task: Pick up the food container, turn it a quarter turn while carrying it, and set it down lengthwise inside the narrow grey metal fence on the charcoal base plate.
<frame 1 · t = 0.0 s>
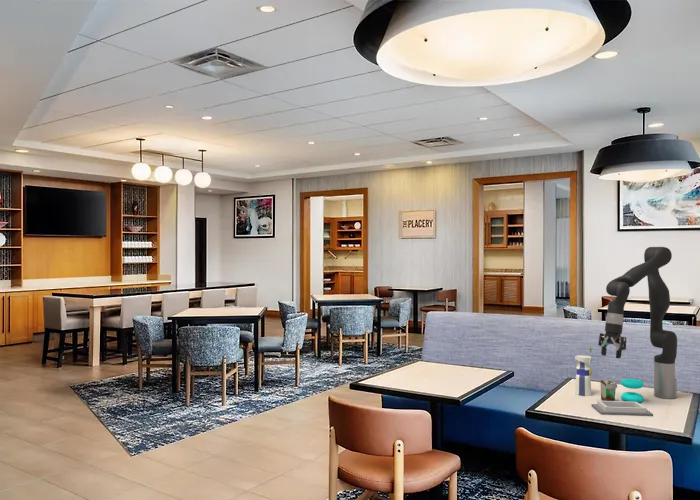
hand: (610, 356, 272), 22 cm above the table, tool pointing down, fingers open, 8 cm apart
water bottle: (583, 394, 290), on the table
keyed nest: (621, 411, 259), on the table
donuts: (632, 401, 278), on the table
food container: (610, 402, 274), on the table
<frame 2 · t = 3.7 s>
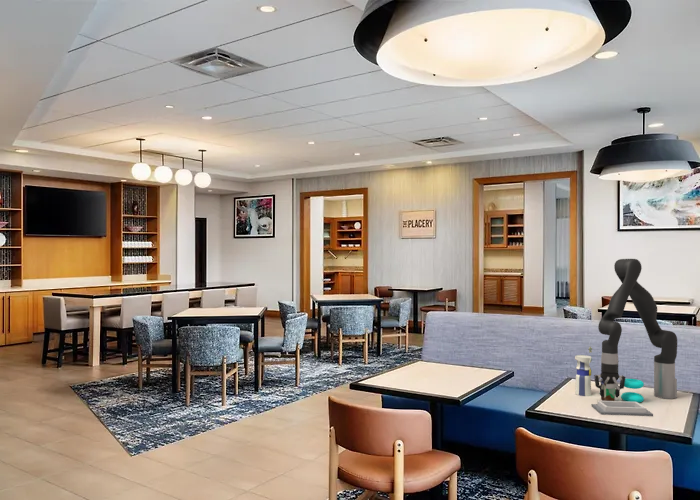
hand: (609, 396, 274), 3 cm above the table, tool pointing down, fingers open, 6 cm apart
food container: (610, 402, 274), on the table, touching gripper
everything else where it was.
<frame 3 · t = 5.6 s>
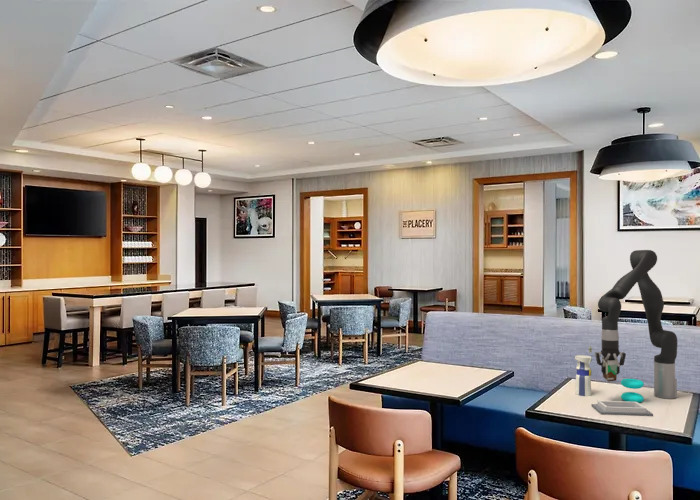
hand: (610, 373, 274), 14 cm above the table, tool pointing down, fingers closed on food container, 5 cm apart
food container: (612, 379, 274), point 11 cm above the table, touching gripper
everything else where it was.
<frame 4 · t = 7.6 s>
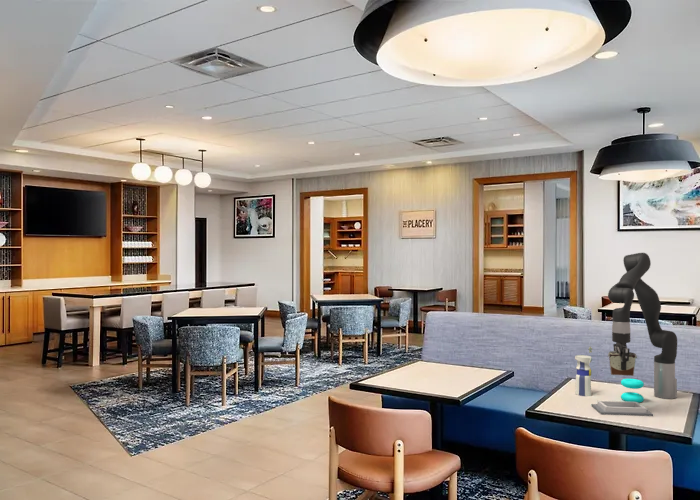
hand: (621, 368, 259), 19 cm above the table, tool pointing down, fingers closed on food container, 5 cm apart
food container: (620, 374, 260), point 16 cm above the table, touching gripper
everything else where it was.
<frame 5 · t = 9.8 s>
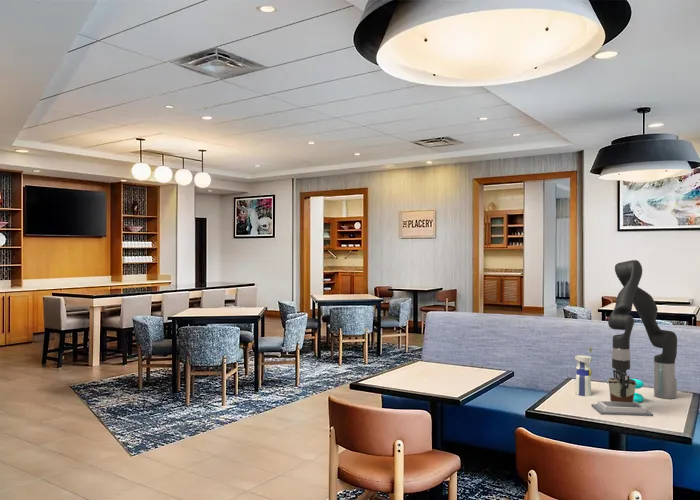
hand: (620, 395, 259), 7 cm above the table, tool pointing down, fingers closed on food container, 5 cm apart
food container: (620, 401, 260), point 4 cm above the table, touching gripper
everything else where it was.
when the fingers open (5 cm above the table, at t = 11.3 s): food container moves 1 cm, resting on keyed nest.
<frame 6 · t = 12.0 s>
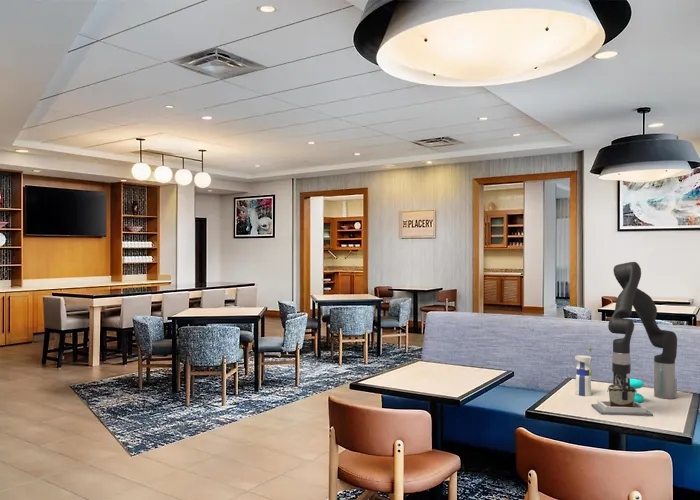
hand: (621, 397, 259), 6 cm above the table, tool pointing down, fingers open, 8 cm apart
food container: (619, 407, 261), point 1 cm above the table, touching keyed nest
everything else where it was.
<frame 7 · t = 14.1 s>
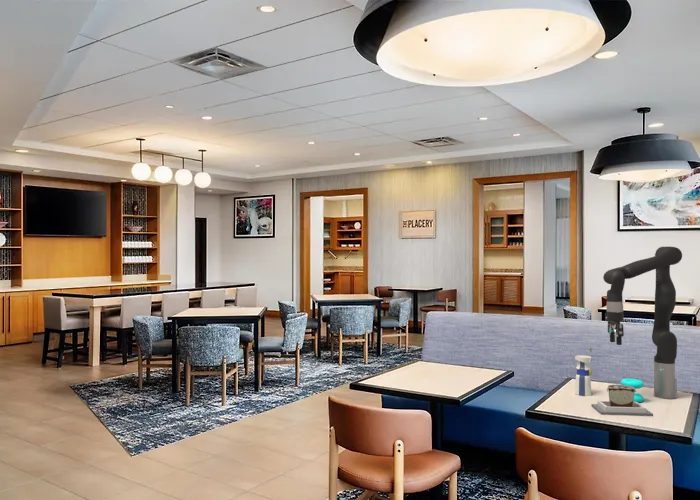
hand: (615, 343, 281), 27 cm above the table, tool pointing down, fingers open, 8 cm apart
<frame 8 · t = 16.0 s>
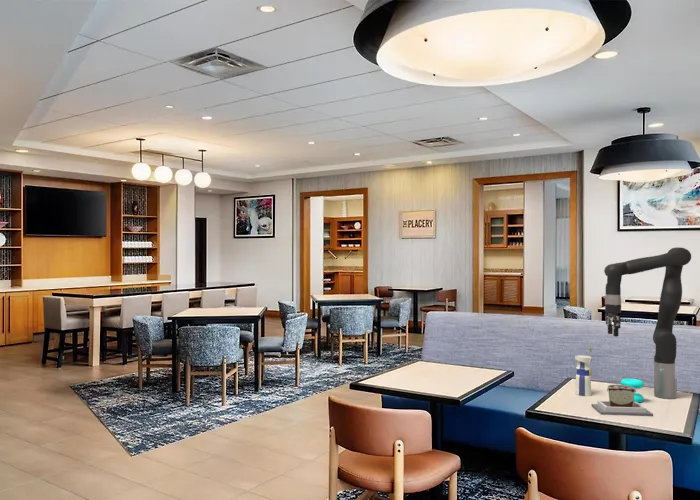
hand: (613, 335, 290), 30 cm above the table, tool pointing down, fingers open, 8 cm apart
nothing on the table moved.
at the end: food container 1.7 cm off-centre on the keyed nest, point 0.8 cm above the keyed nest's base; food container tilted 0°; the gripper is holding nothing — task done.
